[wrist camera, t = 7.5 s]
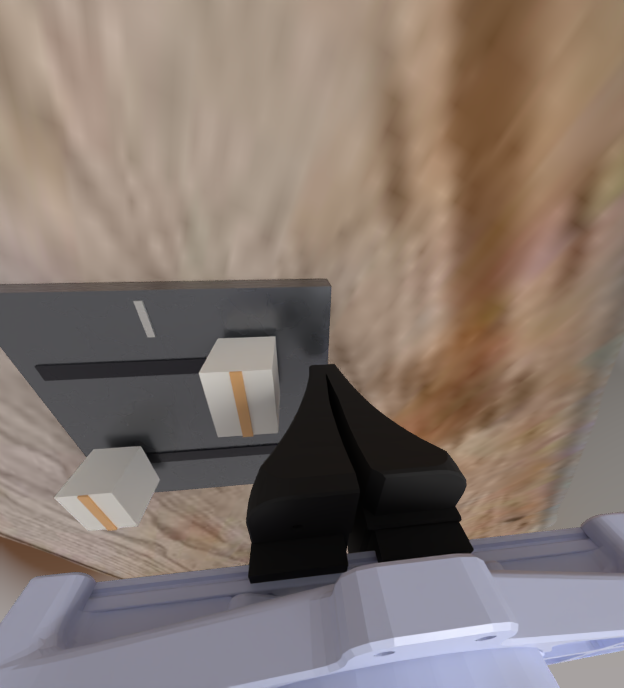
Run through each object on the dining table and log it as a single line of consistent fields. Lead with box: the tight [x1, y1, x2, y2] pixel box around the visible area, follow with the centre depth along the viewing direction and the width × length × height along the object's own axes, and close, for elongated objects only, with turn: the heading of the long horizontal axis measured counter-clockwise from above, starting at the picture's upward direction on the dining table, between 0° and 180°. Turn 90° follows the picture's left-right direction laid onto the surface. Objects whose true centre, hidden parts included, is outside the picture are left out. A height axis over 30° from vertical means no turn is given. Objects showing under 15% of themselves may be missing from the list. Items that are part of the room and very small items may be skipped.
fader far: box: [54, 446, 160, 531], centre depth 15 cm, size 4×3×3 cm
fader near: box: [199, 336, 280, 437], centre depth 12 cm, size 4×3×3 cm
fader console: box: [0, 279, 331, 492], centre depth 16 cm, size 17×17×2 cm
